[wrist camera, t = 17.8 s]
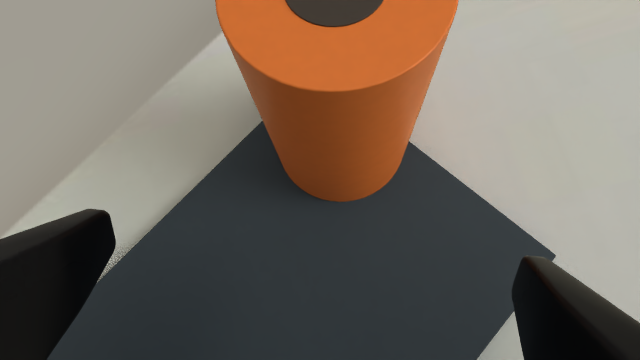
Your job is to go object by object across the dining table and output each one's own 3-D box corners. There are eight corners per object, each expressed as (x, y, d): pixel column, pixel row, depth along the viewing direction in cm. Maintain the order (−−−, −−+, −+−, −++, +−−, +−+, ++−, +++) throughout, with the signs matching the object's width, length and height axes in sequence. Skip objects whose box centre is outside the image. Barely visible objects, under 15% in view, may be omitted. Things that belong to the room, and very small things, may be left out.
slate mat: (219, 688, 14) (215, 699, 14) (0, 383, 18) (-8, 384, 17) (552, 256, 18) (556, 255, 17) (315, 72, 21) (315, 68, 21)
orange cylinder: (375, 222, 18) (407, 128, 9) (257, 172, 19) (169, 39, 10) (422, 110, 20) (493, -76, 10) (310, 69, 21) (278, -134, 11)
